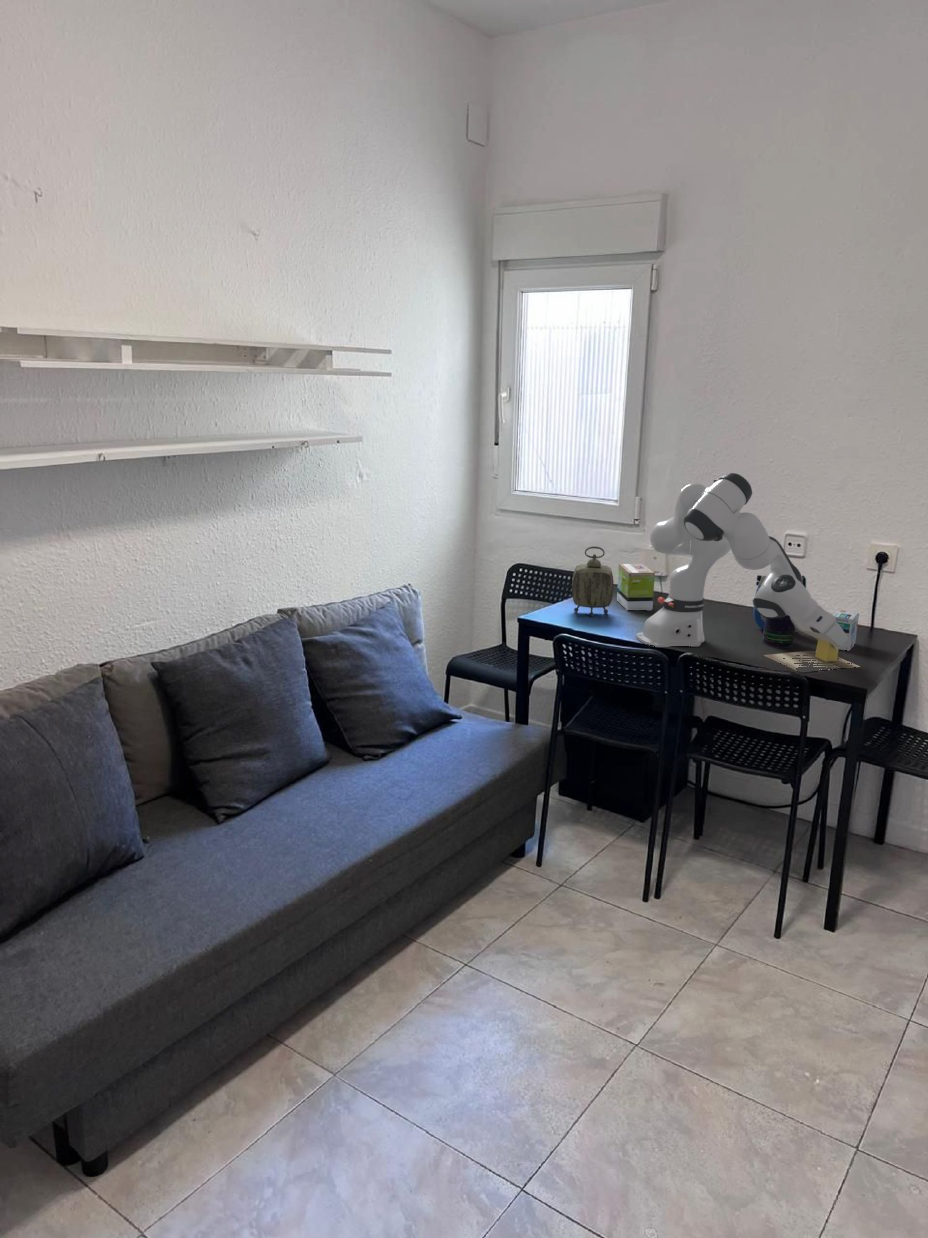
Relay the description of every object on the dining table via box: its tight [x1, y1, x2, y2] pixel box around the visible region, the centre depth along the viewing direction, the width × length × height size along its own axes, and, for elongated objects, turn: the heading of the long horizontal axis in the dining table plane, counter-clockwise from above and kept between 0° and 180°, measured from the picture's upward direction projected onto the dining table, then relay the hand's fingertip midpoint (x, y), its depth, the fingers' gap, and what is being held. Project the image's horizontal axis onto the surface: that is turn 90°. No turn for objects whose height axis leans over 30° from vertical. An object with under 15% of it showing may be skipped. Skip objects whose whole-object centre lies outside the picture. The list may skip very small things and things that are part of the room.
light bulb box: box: [832, 609, 860, 652], centre depth 306 cm, size 11×7×11 cm, turn 148°
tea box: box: [616, 563, 656, 611], centre depth 350 cm, size 15×10×15 cm
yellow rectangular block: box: [815, 639, 839, 662], centre depth 292 cm, size 4×5×9 cm
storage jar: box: [762, 615, 796, 649], centre depth 307 cm, size 10×10×15 cm
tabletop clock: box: [571, 546, 615, 617], centre depth 335 cm, size 14×9×25 cm, turn 84°
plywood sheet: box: [763, 650, 861, 672], centre depth 291 cm, size 22×18×1 cm
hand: (830, 644), depth 292 cm, fingers closed on yellow rectangular block, 5 cm apart
